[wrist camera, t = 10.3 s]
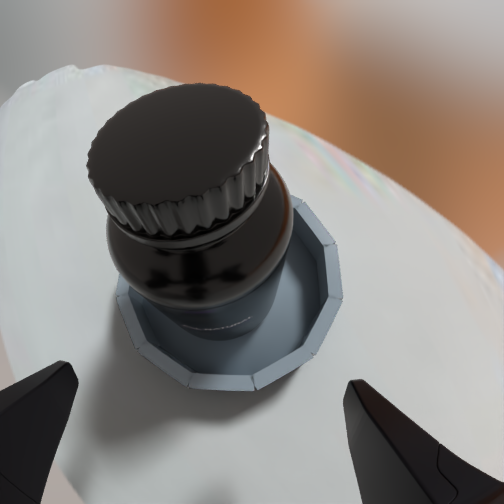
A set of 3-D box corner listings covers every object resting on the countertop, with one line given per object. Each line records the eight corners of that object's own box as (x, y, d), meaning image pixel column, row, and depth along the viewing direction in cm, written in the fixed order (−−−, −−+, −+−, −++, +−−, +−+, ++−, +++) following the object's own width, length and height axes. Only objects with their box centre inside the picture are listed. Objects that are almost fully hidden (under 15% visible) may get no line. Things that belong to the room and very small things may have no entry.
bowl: (364, 320, 17) (382, 308, 14) (188, 421, 14) (174, 429, 11) (264, 181, 21) (265, 154, 19) (116, 254, 19) (97, 235, 16)
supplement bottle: (217, 366, 15) (117, 334, 4) (147, 284, 17) (31, 154, 6) (300, 287, 17) (363, 130, 6) (225, 219, 19) (198, 51, 8)
